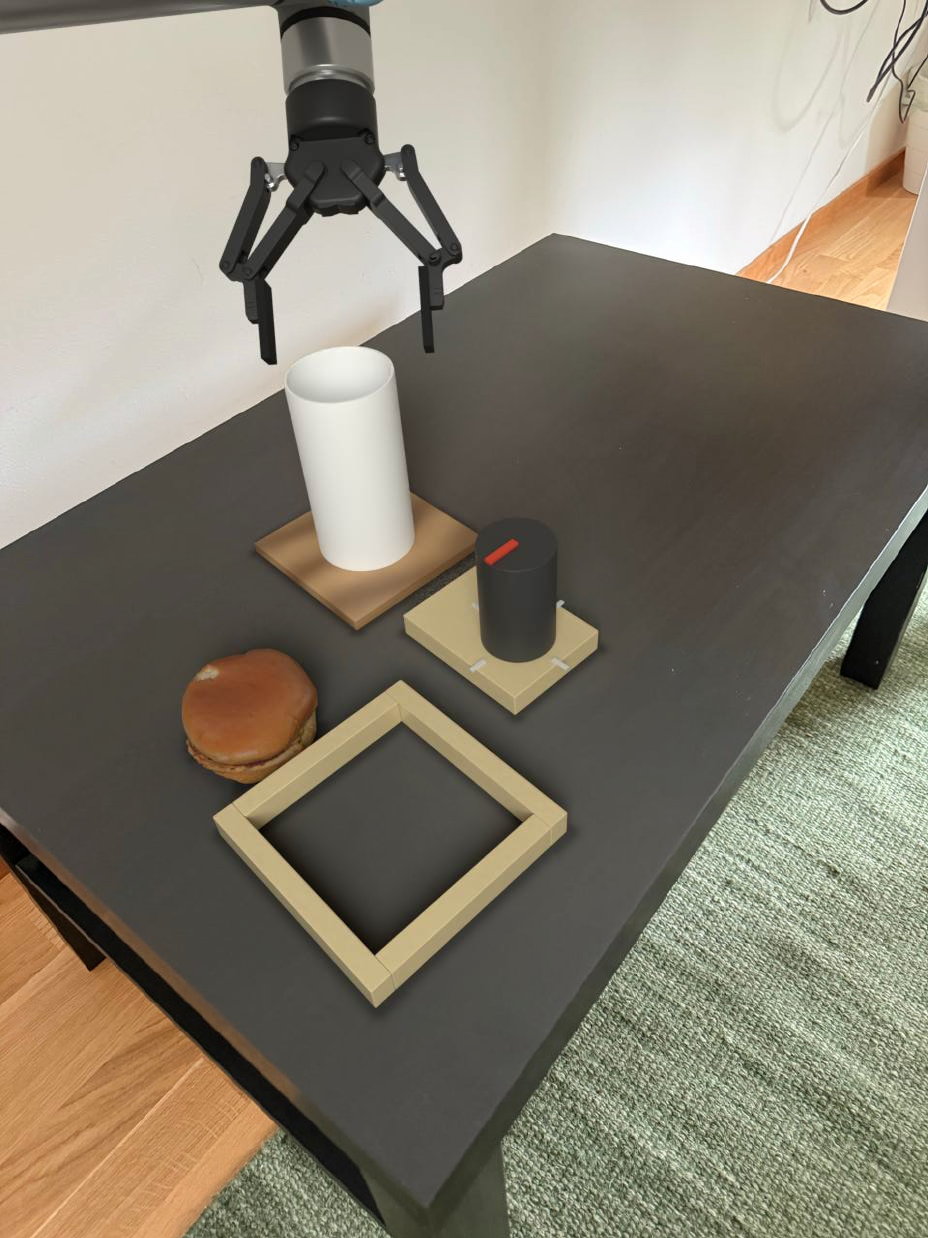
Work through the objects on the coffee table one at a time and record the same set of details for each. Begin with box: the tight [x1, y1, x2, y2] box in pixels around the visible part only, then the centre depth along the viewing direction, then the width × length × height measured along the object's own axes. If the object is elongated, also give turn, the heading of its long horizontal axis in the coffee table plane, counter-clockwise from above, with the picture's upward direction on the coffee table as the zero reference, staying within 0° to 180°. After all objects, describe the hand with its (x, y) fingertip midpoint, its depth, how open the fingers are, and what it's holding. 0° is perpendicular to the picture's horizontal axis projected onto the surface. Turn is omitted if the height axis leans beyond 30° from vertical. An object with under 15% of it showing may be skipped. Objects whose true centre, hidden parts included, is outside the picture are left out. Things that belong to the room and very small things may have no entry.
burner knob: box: [474, 517, 559, 663], centre depth 66 cm, size 6×6×9 cm
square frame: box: [212, 679, 568, 1008], centre depth 59 cm, size 16×16×2 cm
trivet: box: [254, 491, 479, 631], centre depth 80 cm, size 14×14×1 cm
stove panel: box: [402, 565, 599, 716], centre depth 71 cm, size 13×10×2 cm
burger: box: [181, 648, 319, 784], centre depth 65 cm, size 10×9×5 cm
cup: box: [283, 345, 415, 571], centre depth 74 cm, size 8×8×16 cm
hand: (348, 355), depth 78 cm, fingers open, 13 cm apart
